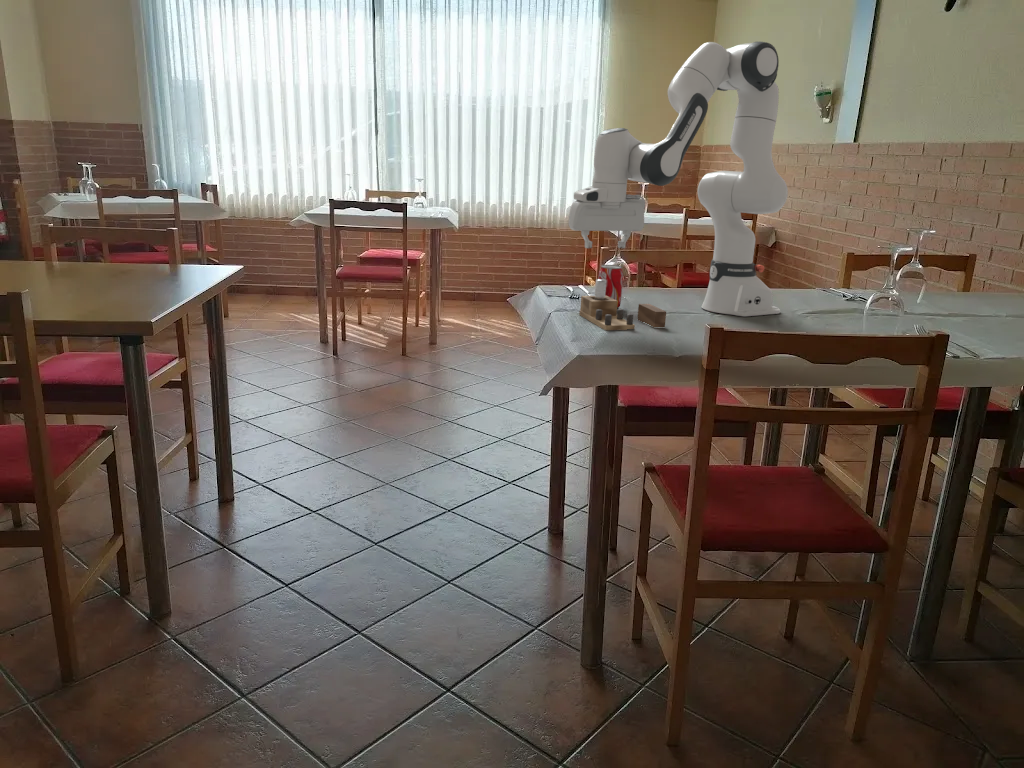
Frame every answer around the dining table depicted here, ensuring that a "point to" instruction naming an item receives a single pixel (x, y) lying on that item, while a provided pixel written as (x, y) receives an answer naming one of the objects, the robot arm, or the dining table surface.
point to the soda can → (612, 281)
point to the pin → (600, 289)
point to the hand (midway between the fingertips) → (604, 248)
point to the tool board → (613, 322)
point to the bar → (651, 315)
